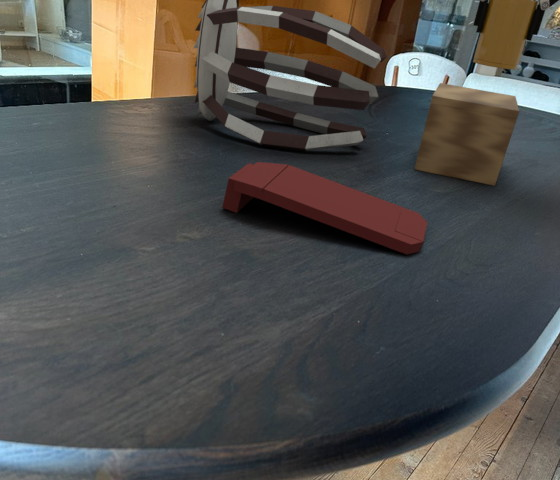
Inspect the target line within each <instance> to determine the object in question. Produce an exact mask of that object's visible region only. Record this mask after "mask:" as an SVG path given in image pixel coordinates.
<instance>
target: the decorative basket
mask: <svg viewBox="0 0 560 480" xmlns="http://www.w3.org/2000/svg"><path fill="white" fill-rule="evenodd" d="M198 18H199V19H200V21H199V23H198V25H197V26H196V27H195V29H194V31H195V32H199V34H198V37H197V39H196V42H195V44H194V46H193V49H197V50H196V51H197V53H196V59H195V64H194V68H196V77H195V81H194V87H193V89H194V88H196V93H195V94H196V95H195V100H194V103H198V109H197V116H199V115H202V117H203V118H204V119H206V120H207V121H209V122H210V121H213V120H215V118H217V119H218V121H219V122H220V123H221V124H222V125H223V126H224V127H225V128H226V129H228V130H229V131H231V132H233V133H236V134H238V135H240V136H242V137H244V138H246V139H248V140H250V141H253V142H255V143H257V144H258V145H260V146H262V147H263V146H264V147H270V148H271V147H272V148H280V149H286V150H287V149H288V150H295V151H303V152H309V151H310V152H311V151H318V150H328V149H335V148H336V149H337V148H345V147H353V146H359V144H361V143H362V142H363V141H364V140H365V139H366V138H367V137H368V135H367V133H366V130H365V127H360V126H355V125H350V124H345V123H341V122H336V121H332V120H331V121H330V120H326V119H323V118H319V117H315V116H311V115H306V114H303V113H300V112H295V111H292V110H289V109H285V108H283V107H278V106H275V105H271V104H268V103H265V102H261V101H259V100H255V99H252V98H249V97H246V96H243V95H241V94H240V95H239V94H237V93H234V92H231V91H229V88H230V83H231V84H234V85H237V86H239V87H241V88H245V89H247V90H250V91H253V92H256V93H259V94H262V95H264V96H266V97H271V98H272V97H273V98H277V99H283V100H287V101H292V102H296V103H301V104H305V105H306V104H307V105H311V106H319V107H327V108H328V107H329V108H339V109H348V110H358V111H365V110H366V109H367V107H368V105H372V104H373V103H374V102H375V101H376V100H377V99H378V98H379V94H378V91H377V87H376V86H375V85H374V84H372V83H369V82H367V81H365V80H362V79H360V78H358V77H356V76H353V75H352V74H350V73H348V72H344V71H343V70H339V69H336V68H333V67H330V66H327V65H323V64H321V63H317V62H314V61H311V60H307V59H303V58H298V57H294V56H289V55H284V54H279V53H275V52H270V51H266V50H265V51H264V50H257V49H249V48H243V47H237V37H238V23H240V24H241V23H242V24H247V25H248V24H249V25H254V26H262V27H268V28H276V29H280V30H282V31H286V32H288V33H291V34H294V35H297V36H300V37H302V38H306V39H309V40H312V41H314V42H318V43H320V44H323V45H325V46H328V47H331V48H332V49H334V50H335V51H338V52H340V53H342V54H344V55H346V56H348V57H350V58H352V59H354V60H356V61H358V62H360V63H362V64H364V65H366V66H368V67H370V68H373V69H374V70H375V69H376V68H377V66H378V65H379V64H380V63H383V61H385V60H386V59H387V58H388V55H387V54H386V51H385V49H384V48H382V47H381V46H380V45H378V44H377V43H376V42H375V41H373V39H370V38H369V37H368V36H367V35H365V34H364V33H362V32H361V31H359V30H358V29H357V28H356V27H355V26H353V25H352V24H349V23H347V22H344V21H341V20H339V19H336V18H335V17H331V16H329V15H327V14H325V13H322V12H318V11H317V10H310V9H301V8H294V7H285V6H278V5H261V6H260V5H259V6H238V3H237V0H205V1H204V2H203V4H202V6H201V11H200V12H199V14H198V15H197V19H198ZM256 69H258V70H256ZM260 70H266V71H271V72H275V73H280V74H286V75H290V76H295V77H299V78H304V79H307V80H310V81H313V82H317V83H320V84H314V83H310V82H305V81H300V80H296V79H292V78H287V77H286V78H285V77H281V76H276V75H271V74H268V73H265V72H262V71H260ZM321 84H323V85H321ZM223 106H226V107H230V108H233V109H236V110H239V111H243V112H246V113H249V114H252V115H254V116H259V117H262V118H266V119H269V120H272V121H276V122H279V123H283V124H285V125H288V126H289V125H290V126H293V127H296V128H300V129H304V130H308V131H312V132H315V133H319V134H316V135H301V134H295V133H285V132H279V131H270V130H263V129H262V128H260V127H258V126H255V125H253V124H251V123H249V122H247V121H245V120H242V119H241V118H238V117H236V116H234V115H232V114H230V113H229V112H228V111H227V110H226V109H225V108H224V107H223Z"/></svg>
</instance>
